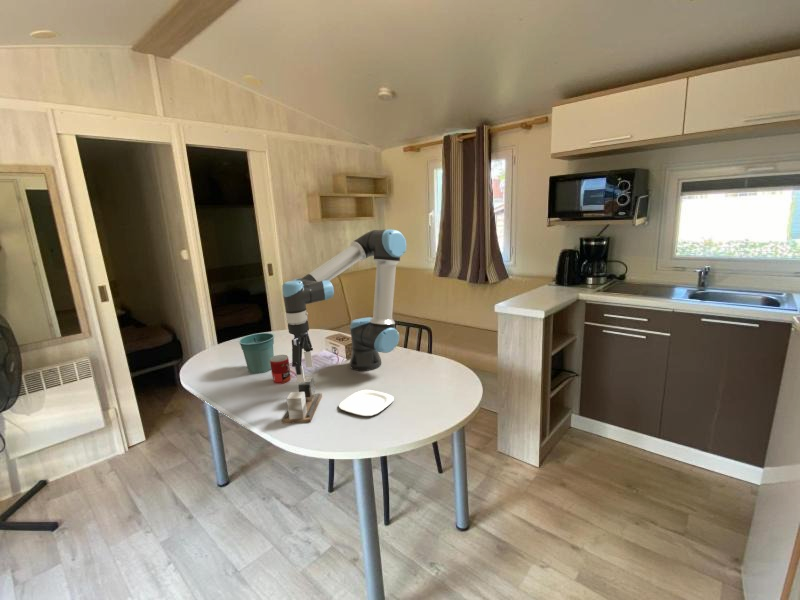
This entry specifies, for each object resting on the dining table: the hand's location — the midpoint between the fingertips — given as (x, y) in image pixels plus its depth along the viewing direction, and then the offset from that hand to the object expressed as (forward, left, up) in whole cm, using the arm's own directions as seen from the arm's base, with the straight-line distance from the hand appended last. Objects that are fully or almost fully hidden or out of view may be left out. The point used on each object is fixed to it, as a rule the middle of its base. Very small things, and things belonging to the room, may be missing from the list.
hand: (305, 373), depth 147 cm
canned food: (+17, -22, -12) cm, 30 cm away
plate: (-24, +5, -12) cm, 27 cm away
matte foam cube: (0, 0, -10) cm, 10 cm away
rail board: (0, +6, -12) cm, 13 cm away
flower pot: (+32, -37, -12) cm, 50 cm away
